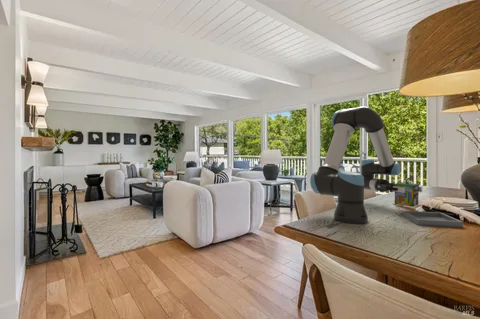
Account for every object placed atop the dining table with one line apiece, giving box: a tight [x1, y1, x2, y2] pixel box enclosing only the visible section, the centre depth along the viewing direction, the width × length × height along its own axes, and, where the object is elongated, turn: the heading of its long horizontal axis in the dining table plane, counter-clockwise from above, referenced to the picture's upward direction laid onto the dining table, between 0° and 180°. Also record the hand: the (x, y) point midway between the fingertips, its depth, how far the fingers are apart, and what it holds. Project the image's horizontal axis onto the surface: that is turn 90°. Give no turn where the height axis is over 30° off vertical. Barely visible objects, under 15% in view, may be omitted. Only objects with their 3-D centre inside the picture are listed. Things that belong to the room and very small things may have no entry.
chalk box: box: [394, 177, 420, 208], centre depth 135 cm, size 9×9×15 cm
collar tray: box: [402, 210, 464, 228], centre depth 118 cm, size 17×17×2 cm
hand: (413, 189), depth 131 cm, fingers closed on chalk box, 11 cm apart
